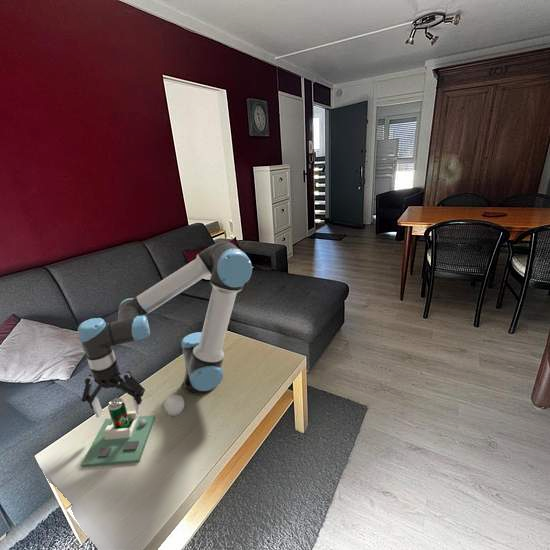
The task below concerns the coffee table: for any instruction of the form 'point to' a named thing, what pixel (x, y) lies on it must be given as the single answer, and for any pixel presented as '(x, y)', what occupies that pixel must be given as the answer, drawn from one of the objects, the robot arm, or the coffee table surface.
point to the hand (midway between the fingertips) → (119, 412)
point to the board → (120, 442)
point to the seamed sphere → (174, 405)
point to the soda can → (118, 413)
